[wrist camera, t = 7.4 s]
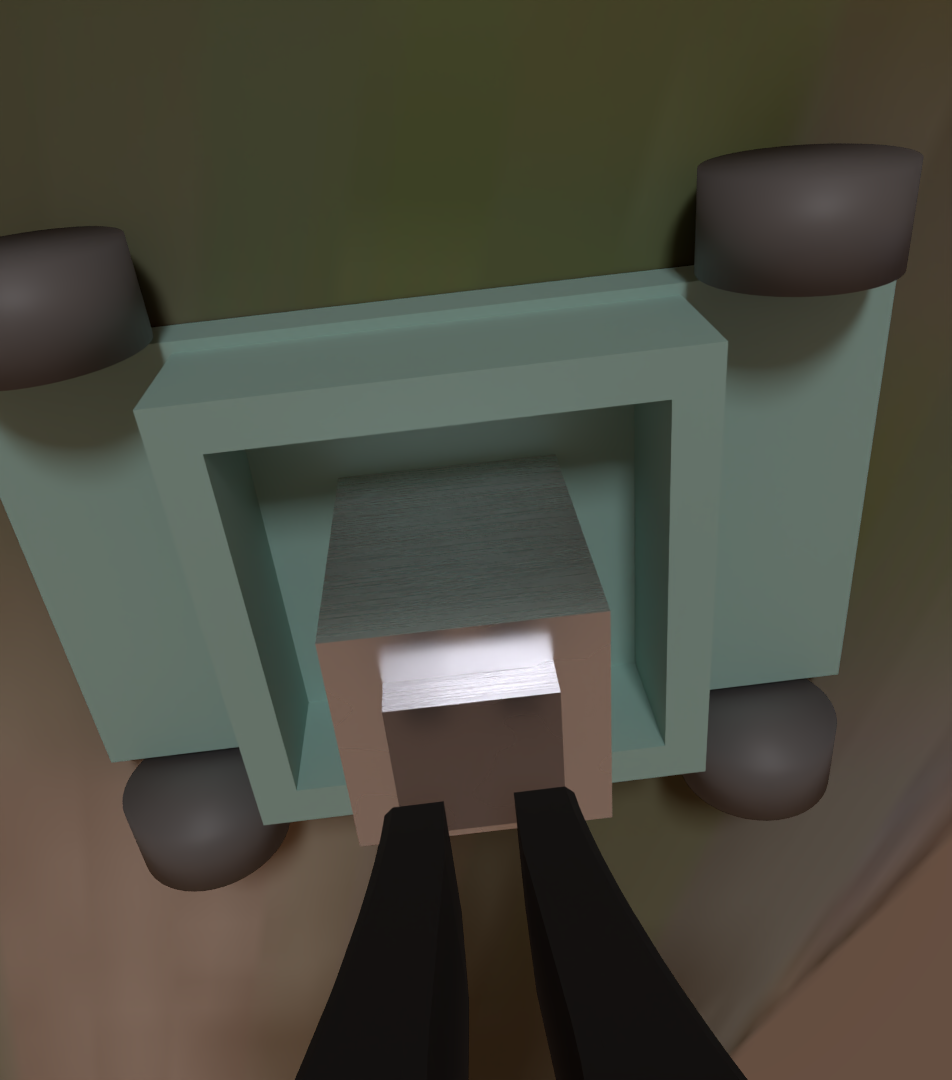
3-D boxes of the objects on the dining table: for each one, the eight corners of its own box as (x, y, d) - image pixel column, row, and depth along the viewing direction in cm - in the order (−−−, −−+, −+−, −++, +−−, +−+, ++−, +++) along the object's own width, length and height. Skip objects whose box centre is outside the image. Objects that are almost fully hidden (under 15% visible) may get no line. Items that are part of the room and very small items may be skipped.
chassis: (886, 134, 15) (1010, 163, 12) (811, 706, 21) (879, 819, 18) (-72, 242, 15) (-195, 300, 12) (146, 787, 21) (103, 915, 18)
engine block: (555, 454, 16) (619, 637, 11) (563, 629, 18) (620, 847, 13) (338, 478, 16) (310, 672, 11) (370, 651, 18) (358, 878, 13)
